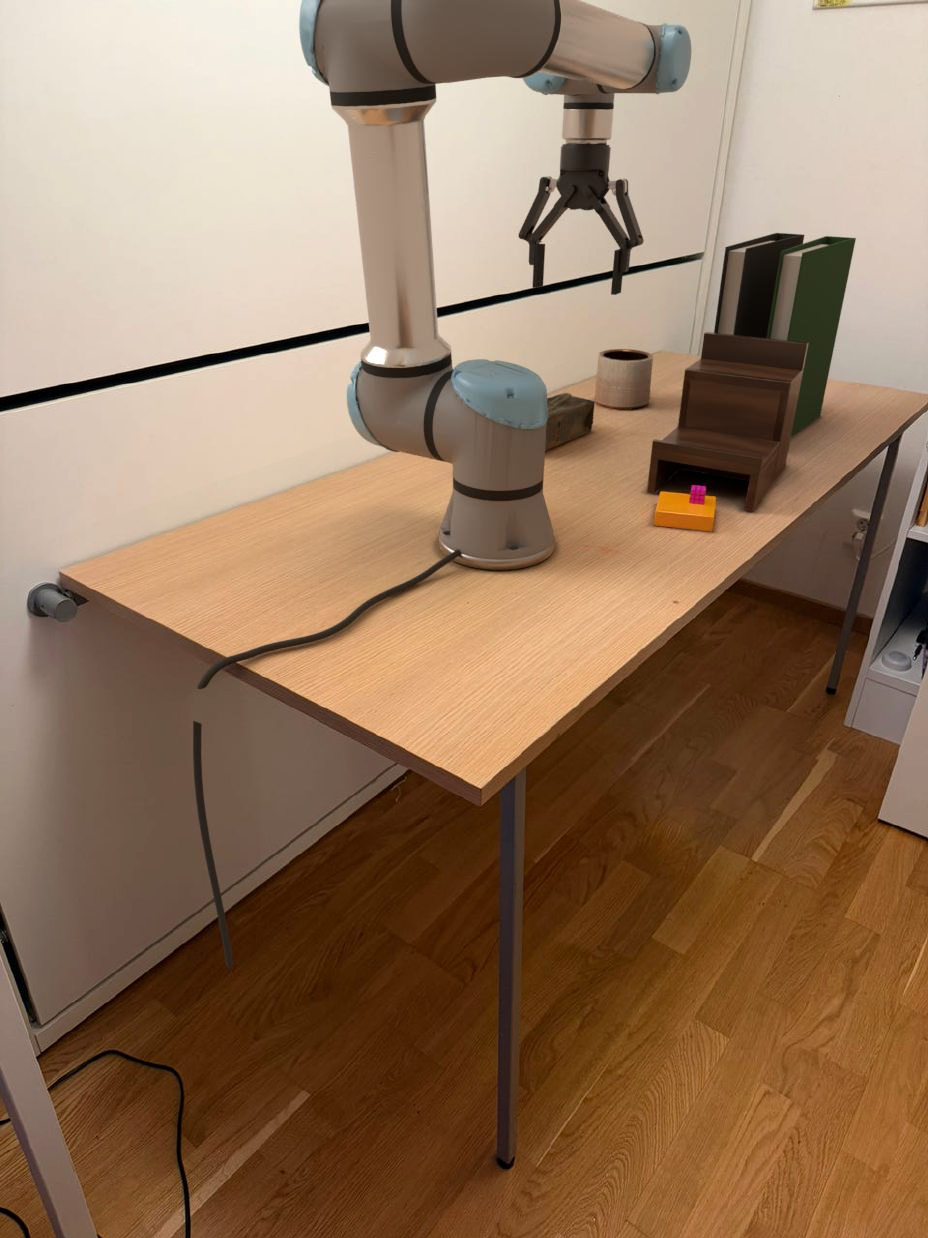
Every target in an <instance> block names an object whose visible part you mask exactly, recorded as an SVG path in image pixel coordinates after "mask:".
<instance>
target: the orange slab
mask: <svg viewBox="0 0 928 1238" xmlns="http://www.w3.org/2000/svg"><path fill="white" fill-rule="evenodd" d="M706 491H707V486H705V485H696V484H695V485H694V484H692V485H691V487H690V493H684V492H683V493H681V492H671V491H662V490H661V491H659V496H658V498H657V499H658V500H657V503H656V507H655V512H654V519H653V526H654V527H655V526H656V527H665V528H672V529H673V528H675V529H681V530H682V529H683V530H693V531H700V532H701V531H702V532H713V530H714V523H715V516H716V515H715V514H716V504H717V497H716V496H711V495H706Z"/></svg>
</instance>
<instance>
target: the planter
mask: <svg viewBox="0 0 928 1238" xmlns="http://www.w3.org/2000/svg"><path fill="white" fill-rule="evenodd" d="M597 358H598V359H597V370H596V380H595V389H594V392H595V393H594V401H595V402H596V404H598V405H600V406H602V407H604V408H609V409H614V410H615V409H616V410H636V409H640V408H643V407H645V406H647V405H648V404H649V402H650V396H651V385H652V374H653V372H652V371H653V364H654V363H653V362H654V355H653V354H652V353H650V352H648V351H643V350H638V349H631V348H613V349H605V350H602V351H600V352H598V357H597Z"/></svg>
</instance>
